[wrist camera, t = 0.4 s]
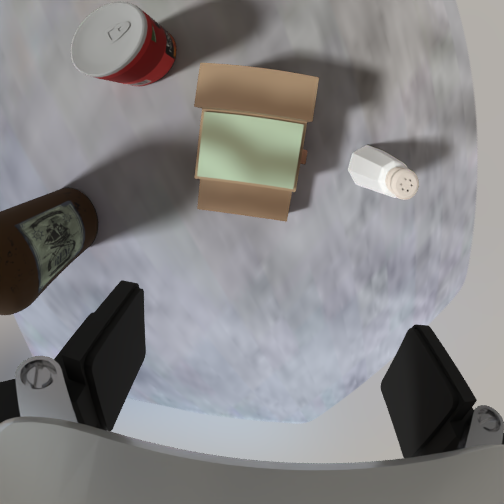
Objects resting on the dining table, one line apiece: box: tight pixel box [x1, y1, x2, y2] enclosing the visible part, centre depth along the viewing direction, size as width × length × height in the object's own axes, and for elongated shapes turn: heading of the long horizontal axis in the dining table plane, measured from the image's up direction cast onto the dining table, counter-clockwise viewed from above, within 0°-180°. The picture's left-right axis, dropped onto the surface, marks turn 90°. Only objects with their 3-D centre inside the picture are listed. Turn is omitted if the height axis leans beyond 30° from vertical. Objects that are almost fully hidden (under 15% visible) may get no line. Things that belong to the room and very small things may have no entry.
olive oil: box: [0, 188, 98, 315], centre depth 27 cm, size 11×11×25 cm
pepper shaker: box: [348, 145, 419, 200], centre depth 29 cm, size 5×5×11 cm
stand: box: [194, 63, 319, 221], centre depth 30 cm, size 15×11×10 cm
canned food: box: [71, 2, 176, 86], centre depth 25 cm, size 8×8×11 cm
